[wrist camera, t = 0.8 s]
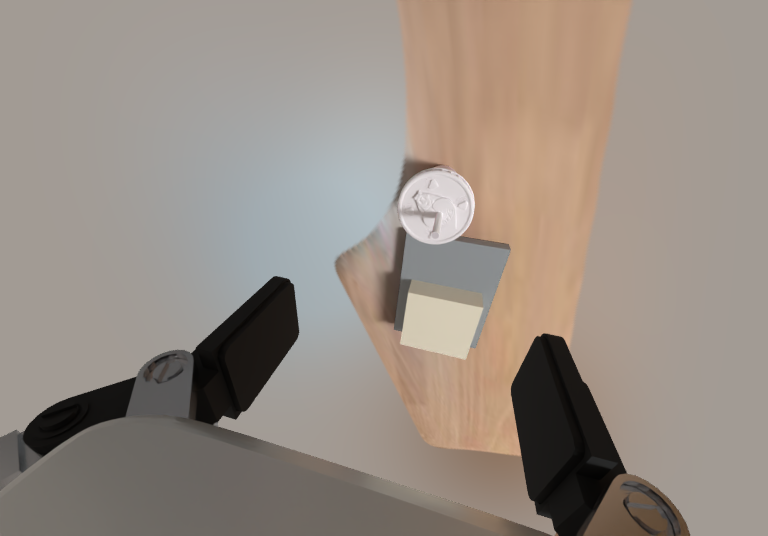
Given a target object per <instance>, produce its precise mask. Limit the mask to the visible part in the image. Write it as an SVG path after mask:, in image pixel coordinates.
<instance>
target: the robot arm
mask: <svg viewBox="0 0 768 536" xmlns="http://www.w3.org/2000/svg"><path fill="white" fill-rule="evenodd" d="M298 335H299V326H298V317H297V309H296V300H295V291H294V285H293V284H292V283H291V282H290V280H289V279H287V278H282V277H277V276H275V277H273V278H272V279H270V280H269V281H268V282H267V283H266V284H265V285H264V286H263V287H262V288H261V289H259V290H258V291H257V292H256V293H255V294H254V295H253V296H252V297H251V298H250V299H249V300H247V301H246V302H245V303H244V304H243V305H242V306H241V307H240V308H239V309H237V310H236V311H235V312H234V313H233V314H232V315H231V316H230V317H229V318H228V319H227V320H225V321H224V322H223V323H222V324H221V325H220V326H219V327H218V328H217V329H216V330H214V331H213V332H212V333H211V334H210V335H209V336H208V337H207V338H206V339H205V340H203V341H202V342H201V343H200V344H199V345H198V346H197V347H196V349H195V350H194V351H193V352H192V353H190V352H187V351H185V350H173V351H168V352H165V353H162V354H160V355H158V356H156V357H154V358H153V359H151V360H150V361H148V362H147V363H146V364H145V365H144V366H143V367H142V368H141V369H140V371H139V373H138V375H137V377H134V378H131V379H128V380H125V381H122V382H118V383H115V384H112V385H109V386H106V387H103V388H100V389H96V390H93V391H90V392H87V393H84V394H81V395H77V396H74V397H71V398H68V399H66V400H63V401H60V402H58V403H56V404H55V405H53V406H51V407H49V408H47V409H46V410H45V411H43V412H42V413H40V414H39V415H38V416H37V417H36V418H35V419H34V420H33V421H32V422H31V423H30V424H29V425H28V427H27V428H26V430H25V431H23V432H21V433H20V432H19V431H17V430H15V431H13V432H11V433H9V434H7V435H5V436H3V437H0V536H551V535H549V534H546V533H544V532H541V531H538V530H535V529H532V528H529V527H526V526H524V525H520V524H518V523H515V522H512V521H509V520H506V519H503V518H501V517H497V516H494V515H492V514H489V513H486V512H483V511H480V510H477V509H474V508H471V507H468V506H465V505H462V504H459V503H456V502H453V501H450V500H447V499H444V498H440V497H437V496H434V495H431V494H428V493H425V492H422V491H419V490H416V489H413V488H410V487H407V486H404V485H400V484H397V483H394V482H391V481H388V480H385V479H382V478H379V477H376V476H373V475H369V474H366V473H364V472H360V471H357V470H354V469H351V468H348V467H345V466H342V465H339V464H336V463H332V462H329V461H326V460H323V459H320V458H317V457H314V456H311V455H307V454H304V453H301V452H298V451H295V450H291V449H288V448H285V447H282V446H279V445H276V444H273V443H269V442H266V441H263V440H260V439H257V438H254V437H251V436H247V435H244V434H241V433H238V432H234V431H231V430H227V429H224V428H221V427H218V421H219V420H220V419H221V417H222V416H226V417H229V418H232V419H237V418H238V416H239V415H240V413H241V412H242V411H243V412H244V411H246V410H247V409H248V408H249V407H250V405H251V404H252V402H253V401H254V399H255V398H256V397H257V395H258V394H259V392H260V391H261V390H262V388H263V387H264V385H265V384H266V383H267V381H268V380H269V378H270V377H271V375H272V374H273V372H274V371H275V370H276V368H277V367H278V365H279V364H280V363H281V361H282V360H283V358H284V357H285V356H286V354H287V353H288V351H289V350H290V348H291V347H292V345H293V344H294V343H295V341H296V340H297V338H298ZM511 396H512V402H513V408H514V414H515V420H516V426H517V432H518V437H519V443H520V449H521V455H522V461H523V466H524V472H525V479H526V485H527V491H528V495H529V498H530V499H531V500H532V501H535V506H536V512H537V514H538V515H541V516H544V517H547V518H551V519H552V521H553V526H554V530H555V531H556V532H557V533H556V534H555V536H690V533H689V530H688V527H687V524H686V522H685V520H684V519H683V517H682V515H681V513H680V512H679V510H678V509H677V508H676V506H675V505H674V504H673V503H672V502H671V500H670V499H669V498H668V497H667V496H666V495H665V494H663V493H662V492H661V491H660V490H659V489H658V488H656V487H655V486H654V485H652V484H651V483H649V482H648V481H646V480H644V479H642V478H640V477H638V476H636V475H631V474H627V473H626V470H625V468H624V466H623V463H622V461H621V459H620V457H619V454H618V452H617V450H616V448H615V446H614V443H613V441H612V439H611V437H610V434H609V432H608V430H607V428H606V425H605V423H604V421H603V419H602V416H601V414H600V412H599V410H598V407H597V405H596V403H595V401H594V399H593V396H592V394H591V392H590V390H589V388H588V386H587V384H586V383H584V382H583V381H582V379H581V377H580V374H579V372H578V370H577V367H576V365H575V363H574V361H573V358H572V356H571V354H570V351H569V349H568V347H567V344H566V342H565V340H564V338H562V337H559V336H555V335H550V334H542V335H541V337H539V336H537V337H536V338H535V339H534V341H533V343H532V345H531V347H530V349H529V351H528V353H527V355H526V357H525V359H524V361H523V363H522V365H521V367H520V369H519V371H518V373H517V375H516V377H515V379H514V381H513V383H512V386H511Z"/></svg>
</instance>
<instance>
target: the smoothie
mask: <svg viewBox="0 0 768 536" xmlns="http://www.w3.org/2000/svg"><path fill="white" fill-rule="evenodd" d="M474 207H475V202H474V194H473V192H472V190H471V187H470V185H469V184H468V183H467V181H466V180H465V179H464V178H463V177H462V176H460V175H459V174H457V173H456V171H455V170H454V169H453V168H451V167H449V166H446V165H439V166H436V167H434V168H430V169H426V170H422V171H421V172H419V173H417V174H415V175H413V176H412V177H411V178H410V179H409V180H408V181H407V182H406V184H405V185H404V187H403V189H402V190H401V194H400V196H399V199H398V206H397V210H398V217H399V220H400V222H401V225H402V226H403V228H404V229H405V231H406V232H407V233H408V234H409V235H410V236H412V237H413V238H415V239H416V240H418V241H420V242H423V243H427V244H444V243H448V242H450V241H453V240H455V239H456V238H458V237H459V236H461V235H462V234H463V233H464V232H465V231H466V229H467V228H468V227H469V225H470V223H471V221H472V218H473V215H474Z"/></svg>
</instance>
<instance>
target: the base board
mask: <svg viewBox="0 0 768 536" xmlns="http://www.w3.org/2000/svg"><path fill="white" fill-rule="evenodd" d="M510 251H511V250H510V247H509V244H503V243H497V242H491V241H485V240H479V239H473V238H467V237H461V236H459V237H458V238H456V239H455V240H453V241H450V242H448V243H444V244H427V243H423V242H420V241H418V240H416V239H415V238H413V237H412V236H410V235H409V234H408V233H406V241H405V248H404V256H403V264H402V271H401V279H400V287H399V294H398V302H397V309H396V317H395V325H394V330H398V331H402V336H401V342H400V344H402V345H406V346H410V347H415V348H419V349H423V350H427V351H431V352H436V353H440V354H444V355H448V356H452V357H457V358H461V359H465V360H466V357H467V355H468V352H469V349H470V347H471V348H476V345H477V342H478V340H479V337H480V334H481V331H482V328H483V326H484V323H485V320H486V317H487V315H488V312H489V309H490V306H491V303H492V301H493V298H494V295H495V292H496V290H497V287H498V284H499V281H500V278H501V276H502V273H503V270H504V267H505V265H506V262H507V259H508V256H509V253H510Z"/></svg>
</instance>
